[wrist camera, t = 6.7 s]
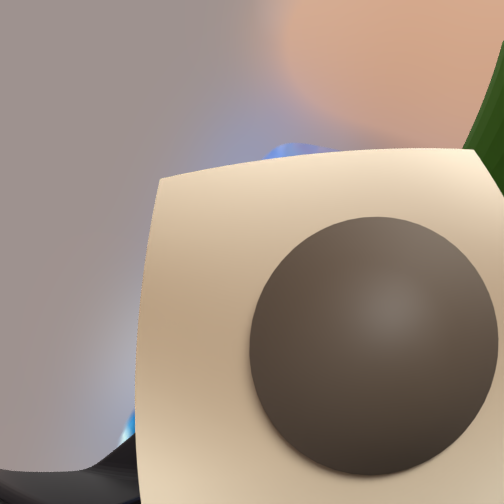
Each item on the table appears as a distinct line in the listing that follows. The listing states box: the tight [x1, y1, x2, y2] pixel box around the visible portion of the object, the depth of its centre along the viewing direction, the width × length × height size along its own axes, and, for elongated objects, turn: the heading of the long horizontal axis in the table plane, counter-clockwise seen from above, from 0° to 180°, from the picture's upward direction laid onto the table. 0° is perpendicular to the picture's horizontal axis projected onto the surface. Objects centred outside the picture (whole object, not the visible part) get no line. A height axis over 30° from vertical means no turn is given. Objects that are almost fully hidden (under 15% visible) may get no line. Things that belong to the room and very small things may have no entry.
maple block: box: [135, 148, 504, 504], centre depth 8 cm, size 5×5×13 cm
